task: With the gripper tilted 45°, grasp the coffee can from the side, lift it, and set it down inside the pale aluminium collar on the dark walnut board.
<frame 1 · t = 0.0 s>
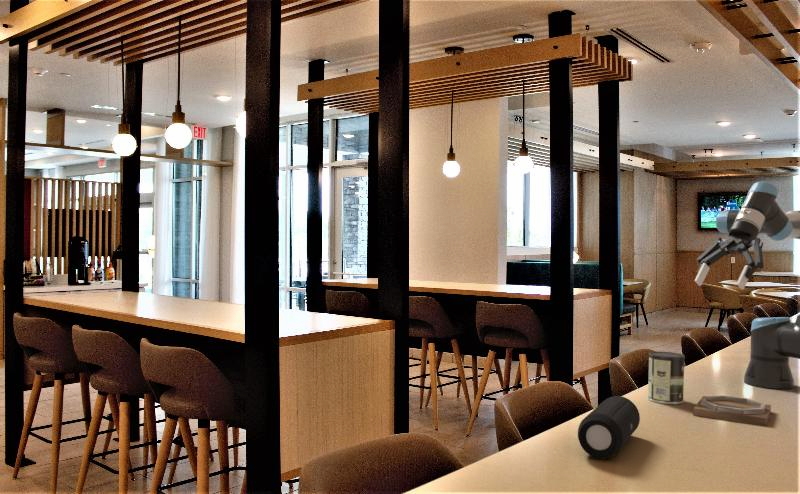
hand: (718, 285, 200), 36 cm above the table, tool tilted 35°, fingers open, 13 cm apart
coffee can: (665, 401, 209), on the table
collar board: (732, 413, 195), on the table
portable speaker: (609, 447, 162), on the table
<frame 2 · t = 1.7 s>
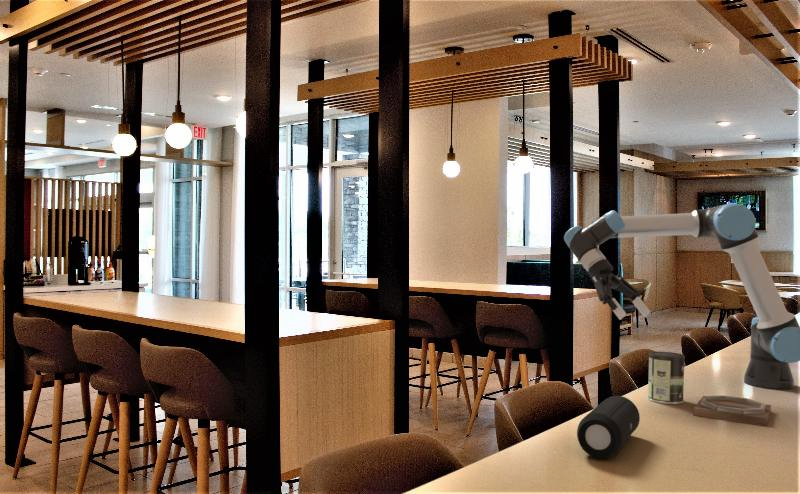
hand: (635, 316, 217), 24 cm above the table, tool tilted 45°, fingers open, 13 cm apart
nothing on the table moved.
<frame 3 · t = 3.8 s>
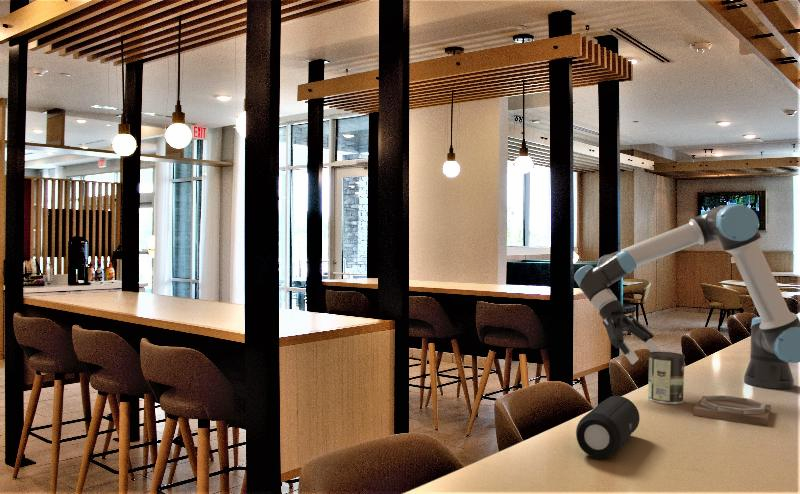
hand: (648, 359, 213), 12 cm above the table, tool tilted 45°, fingers open, 13 cm apart
nothing on the table moved.
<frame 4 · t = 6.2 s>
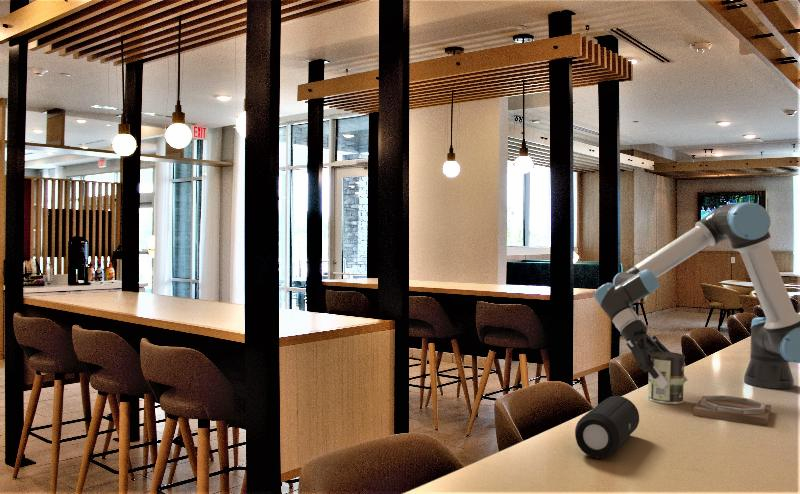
hand: (675, 384, 207), 5 cm above the table, tool tilted 45°, fingers closed on coffee can, 10 cm apart
coffee can: (665, 400, 209), on the table, touching gripper
everything else where it was.
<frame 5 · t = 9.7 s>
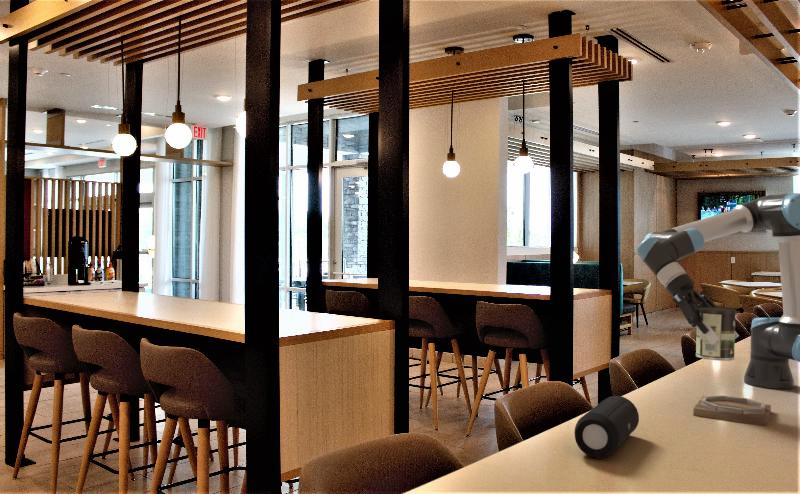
hand: (725, 340, 195), 21 cm above the table, tool tilted 45°, fingers closed on coffee can, 10 cm apart
coffee can: (714, 358, 198), point 15 cm above the table, touching gripper
everything else where it was.
when the fingers open (9 cm above the table, at t = 13.5 s): coffee can drops 2 cm, resting on collar board.
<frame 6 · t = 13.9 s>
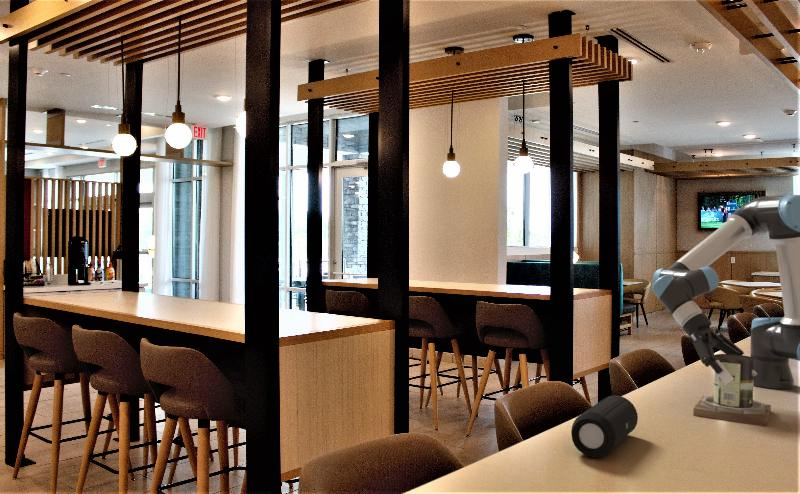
hand: (742, 379, 193), 10 cm above the table, tool tilted 45°, fingers open, 13 cm apart
coffee can: (732, 406, 195), point 2 cm above the table, touching collar board
everything else where it was.
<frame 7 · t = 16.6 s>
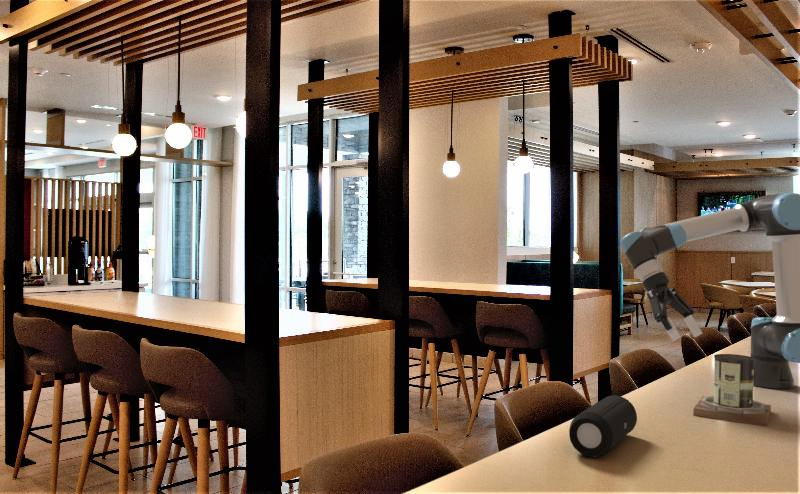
hand: (687, 337, 209), 19 cm above the table, tool tilted 35°, fingers open, 13 cm apart
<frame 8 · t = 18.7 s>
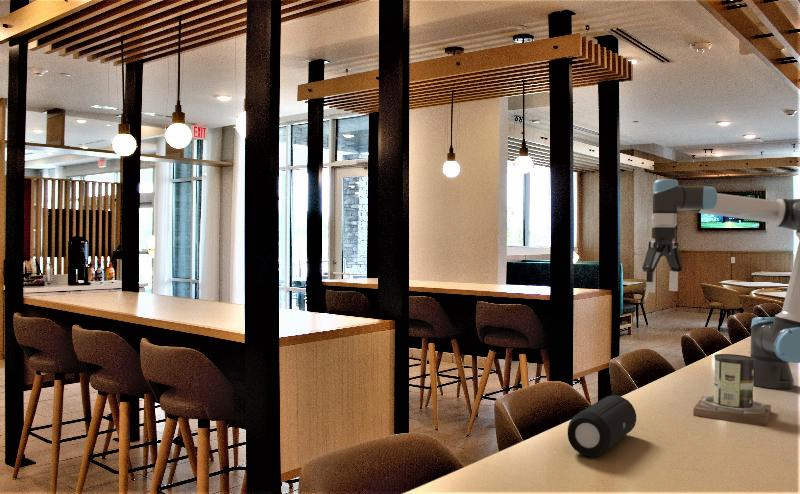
hand: (662, 291, 226), 32 cm above the table, tool pointing down, fingers open, 13 cm apart
at the end: coffee can 0.2 cm off-centre on the collar board, point 1.8 cm above the collar board's base; coffee can tilted 0°; the gripper is holding nothing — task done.
